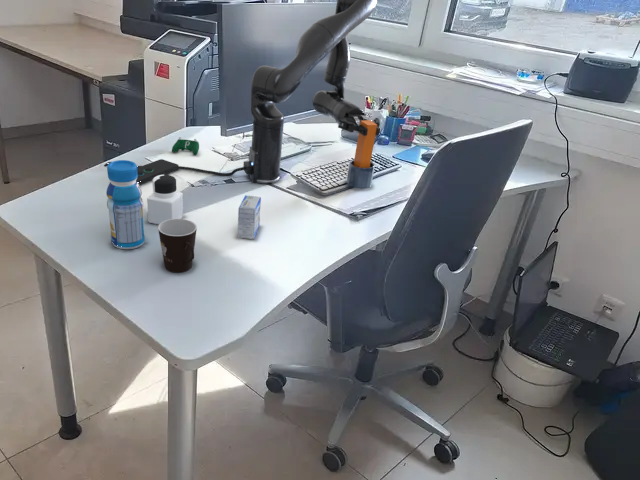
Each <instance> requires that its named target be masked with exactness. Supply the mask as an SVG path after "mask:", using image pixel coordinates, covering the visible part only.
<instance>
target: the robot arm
mask: <svg viewBox="0 0 640 480" xmlns="http://www.w3.org/2000/svg"><path fill="white" fill-rule="evenodd" d="M378 1H379V0H336V4H335V14H331V15H327V16H326V17H323V18H321V19H318V20H317V21H315V22H313V23H312V24H311V26H309V27H308V29H306V30H305V31H304V32H303V33H302V35H301V36H300V37H299V39H298V42H297V46H296V51H295V57H294V58H293V60H292V61H291V62H290V63H289V64H287V65H286V66H285V67H283V68H278V67H274V66H270V65H260V66H259V67H257V68H256V70H255V71H254V73H253V75H252V79H251V84H250V85H251V86H250V112H251V116H252V133H251V146H249V150H248V151H249V153H248V155H249V156H248V160H247V161H243V165H242V167H238V168H235V169H233V170H232V171H231V172H220V171H219V172H218V171H213V170H208V169H202V168H195V167H191V166H181V165H178V170H185V171H193V172H197V173H202V174H207V175H208V174H209V175H214V176H220V177H229V176H234V174H236V172H237V173H238V172H240V171H244V173H245V175H247V176H248V178H249V179H250V180H251V182H252V183H258V184H265V185H267V184H275V183H277V182H279V181H280V175H281V173H280V172H281V161H282V160H281V159H282V146H283V136H284V125H285V117H284V116H285V115H284V114H283V113H282V112H281V111H280V110H279V109H278V108H277V106H276V104H282V103H284V102H286V101H287V100H288V99H289V98H290V97H291V96H292V95H293V93H294V92H295V91H296V89H298V87H299V86H300V85H301V83H302V82H303V80H305V78H306V77H307V76H308V75H309V74H310V73H311V72H312V70H314V69H315V67H316V66H317V65H318V64H319V63H320V62H321V61H322V60H323V59H324V58H326V57H327V55H328V54H329V57H328V60H327V63H326V68H325V73H324V78H323V79H324V83H326V84H328V85H330V86H333V91H331V90H318V91H317V92H315V94H314V96H313V97H312V106H313V109H314V110H315V111H316V112H317V113H318V114H321V115H324V116H326V117H329V118H331V119H332V120H333V121H335V122H336V124H338V125H337V128H338V129H341V130H344V131H346V132H349V133H354V132H355V133H357V134H359V133H360V134H362V135H363V136H367V132H368V129H367V128H366V127H365V126H363V125H361V123H360V122H361V121H363V120H371V121H372V122H374V123H375V124H377V129H376V135H375V137H376V136H379V135H380V132H381V128H380V125H381V121H380V118H379V117H375V118H373V119H371V118H370V117H368V116H366V114H365V112H364V110H363V109H362V108H360V107H359V106H357V105H356V104H354V103H353V102H350V101H348V100H346V99H345V88H346V87H345V86H346V79H347V76H348V71H349V67H350V63H351V47H350V43H349V37H348V35H349V34H350V33H351V32H352V31H353V30H354V29H356V28H357V27H358V26H360V25H361V24H362V23H363V22H365V21H366V20H367V19H368V18H369V17H370V16H371V15H372V14H373V12H374V11H375V9H376V7H377V5H378ZM111 162H112V161H108V162H106V163H104V165H103V167H107V165H108V164H107V163H111ZM137 166H138V167H140V166H141V165H137ZM138 167H137V168H138Z"/></svg>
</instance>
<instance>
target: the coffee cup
mask: <svg viewBox="0 0 640 480" xmlns="http://www.w3.org/2000/svg"><path fill="white" fill-rule="evenodd" d="M348 163H349V164H348V169H347V174H346V175H347V176H346V185H347V186H349V187H351V188H353V189H359V190H366V189H370V188H371V187H372V184H373V178H374V173H375V169H376V164H375V163H374V162H372V161H371V162H370V168H360V167H356V166H353V165H354V159H352V160H350V161H349V162H348Z"/></svg>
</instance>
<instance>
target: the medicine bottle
mask: <svg viewBox="0 0 640 480" xmlns="http://www.w3.org/2000/svg"><path fill="white" fill-rule="evenodd" d="M183 195H184V194H183V192H181V191H177V179H176V177H175V176H174V175H171V174H167V175H159V176H156V177H154V178H153V180H152V193H151V194H150V195H149V196H148V197H147V198H146V206H147V221H148V223H150V224H153V225H154V224H155V225H159V224H160V223H161V222H163V221H166V220H169V219H183V217H184V196H183Z"/></svg>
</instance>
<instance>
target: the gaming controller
mask: <svg viewBox="0 0 640 480" xmlns="http://www.w3.org/2000/svg"><path fill="white" fill-rule="evenodd" d="M179 150H181V151H189V152H192V154H193V156H197V155H198V153H199V151H200V142H199V141H198V140H197V139H196V138H194V139H193V140H192V139H183V138H182V137H181V136H179V137H178V139H177V140H176V141H175V143H174V144H173V145H172V147H171V152H172V153H177V152H178V151H179Z"/></svg>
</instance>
